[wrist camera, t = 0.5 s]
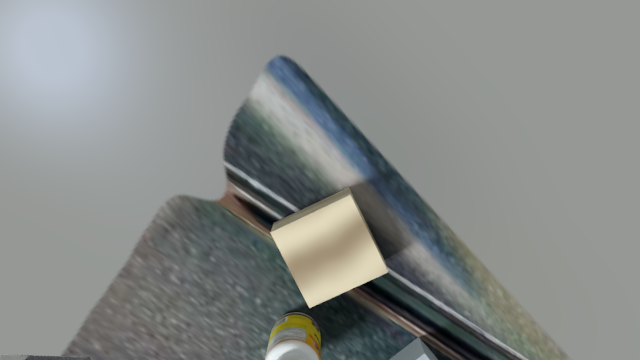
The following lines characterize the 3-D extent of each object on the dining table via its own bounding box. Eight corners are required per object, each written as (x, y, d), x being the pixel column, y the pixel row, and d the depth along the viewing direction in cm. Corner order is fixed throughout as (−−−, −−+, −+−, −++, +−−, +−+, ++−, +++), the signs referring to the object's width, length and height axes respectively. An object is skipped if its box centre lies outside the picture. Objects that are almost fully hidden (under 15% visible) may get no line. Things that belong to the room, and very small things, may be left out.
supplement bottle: (318, 358, 63) (316, 411, 53) (269, 353, 63) (258, 405, 53) (323, 312, 62) (323, 357, 52) (274, 307, 62) (263, 350, 52)
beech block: (384, 259, 61) (388, 272, 57) (310, 293, 62) (309, 308, 58) (349, 187, 60) (350, 194, 56) (274, 222, 61) (270, 232, 57)
